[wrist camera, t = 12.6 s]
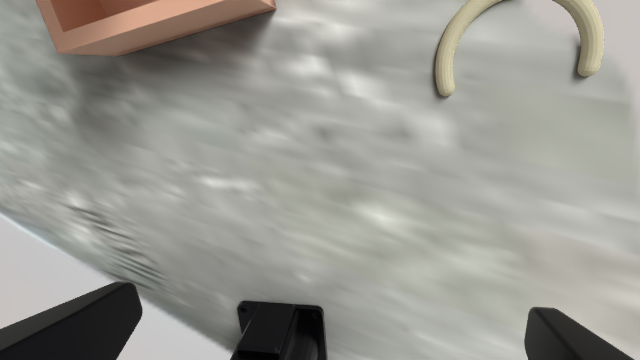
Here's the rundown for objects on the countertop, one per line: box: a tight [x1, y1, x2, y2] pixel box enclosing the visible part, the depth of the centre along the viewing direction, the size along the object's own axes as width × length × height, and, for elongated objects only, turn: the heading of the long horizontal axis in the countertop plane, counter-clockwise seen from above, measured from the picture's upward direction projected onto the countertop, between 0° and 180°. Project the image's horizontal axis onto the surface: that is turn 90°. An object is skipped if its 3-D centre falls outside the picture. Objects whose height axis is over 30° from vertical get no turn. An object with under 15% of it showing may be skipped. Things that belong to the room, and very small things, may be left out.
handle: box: [435, 0, 604, 96], centre depth 16 cm, size 8×1×5 cm
